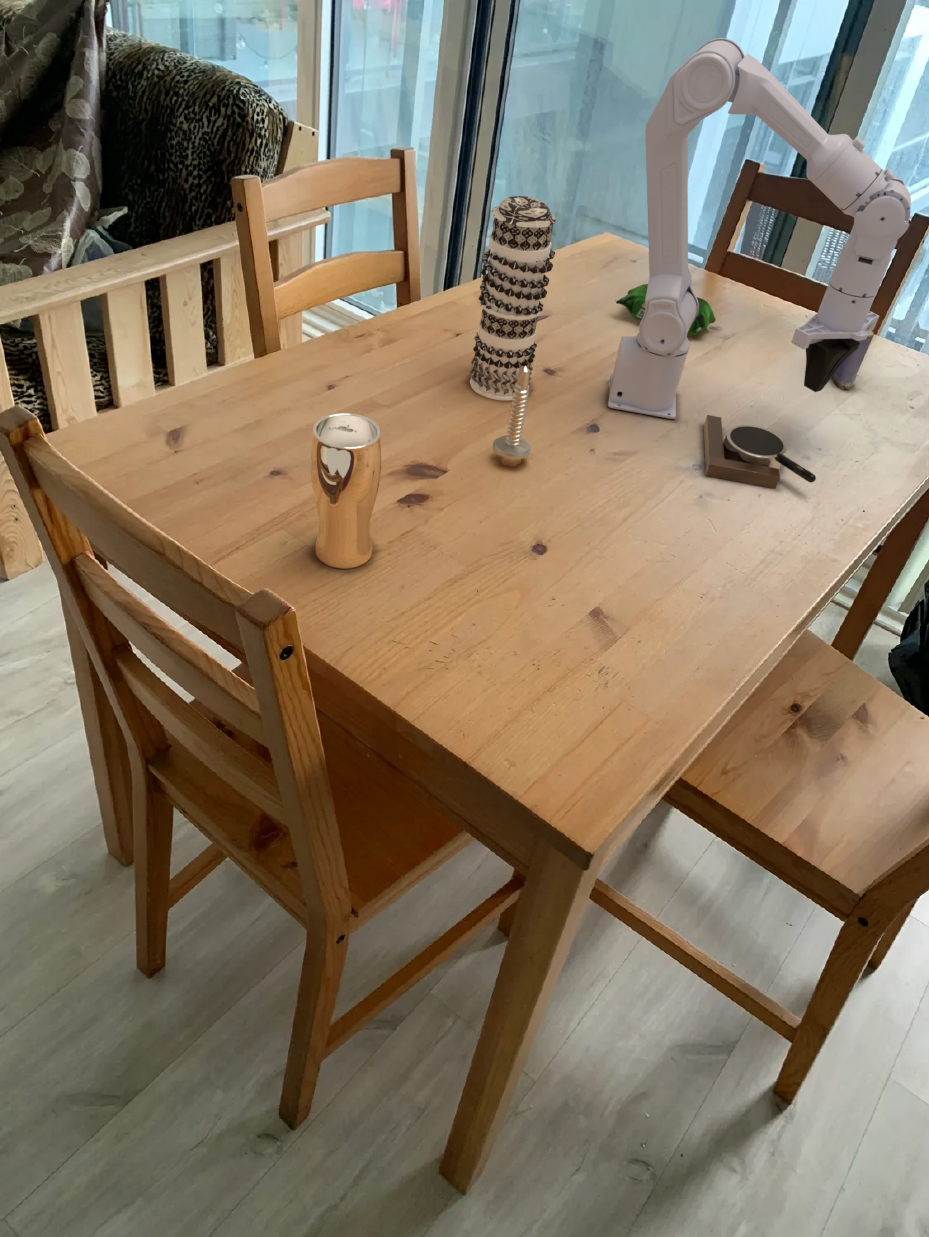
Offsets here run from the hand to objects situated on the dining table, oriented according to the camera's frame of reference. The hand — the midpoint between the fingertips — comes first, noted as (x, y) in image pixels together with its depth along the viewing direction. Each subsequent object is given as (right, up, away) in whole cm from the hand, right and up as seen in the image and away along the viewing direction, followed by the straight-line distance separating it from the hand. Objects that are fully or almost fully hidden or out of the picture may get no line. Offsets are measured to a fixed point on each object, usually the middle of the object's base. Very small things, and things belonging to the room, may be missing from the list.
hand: (812, 387), depth 123 cm
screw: (-40, -11, -6) cm, 42 cm away
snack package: (-13, +18, +30) cm, 38 cm away
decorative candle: (-41, +2, +9) cm, 42 cm away
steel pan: (-6, -11, -1) cm, 13 cm away
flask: (+13, +7, +23) cm, 27 cm away
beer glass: (-59, -23, -23) cm, 68 cm away
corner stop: (-10, -9, +1) cm, 13 cm away
